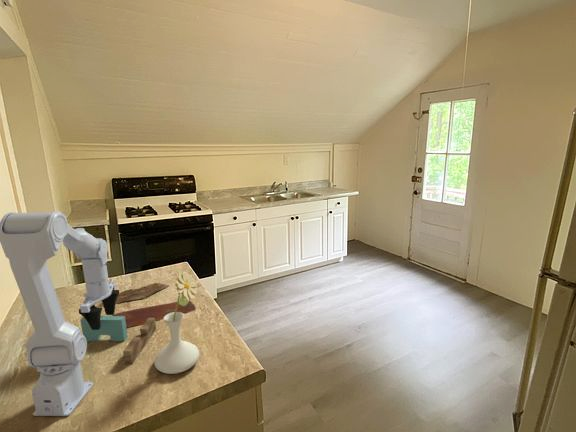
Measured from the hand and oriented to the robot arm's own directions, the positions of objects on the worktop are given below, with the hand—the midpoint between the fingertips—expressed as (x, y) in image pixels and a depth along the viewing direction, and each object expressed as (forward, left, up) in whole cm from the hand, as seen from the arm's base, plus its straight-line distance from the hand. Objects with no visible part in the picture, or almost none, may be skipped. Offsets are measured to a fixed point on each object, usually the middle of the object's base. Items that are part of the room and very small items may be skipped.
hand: (103, 321), depth 95 cm
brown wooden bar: (-3, -12, -6) cm, 14 cm away
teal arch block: (0, 0, -6) cm, 6 cm away
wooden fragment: (+27, +4, -6) cm, 28 cm away
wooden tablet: (+14, -9, -7) cm, 18 cm away
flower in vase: (-10, -25, -6) cm, 28 cm away
